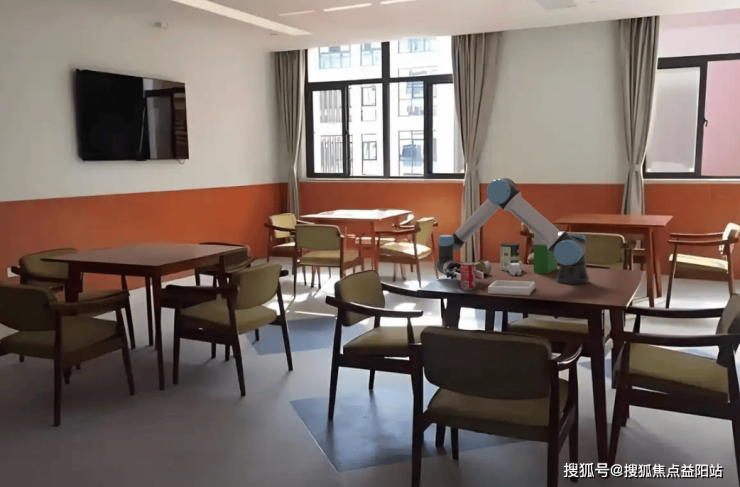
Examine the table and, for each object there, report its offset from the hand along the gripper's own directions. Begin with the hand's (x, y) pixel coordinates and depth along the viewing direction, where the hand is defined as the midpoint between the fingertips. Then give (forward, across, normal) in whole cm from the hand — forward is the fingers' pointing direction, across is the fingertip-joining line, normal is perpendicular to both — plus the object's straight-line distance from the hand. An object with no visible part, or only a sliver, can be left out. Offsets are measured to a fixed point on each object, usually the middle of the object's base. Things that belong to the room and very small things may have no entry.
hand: (471, 276), depth 300 cm
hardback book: (-38, -59, -7) cm, 71 cm away
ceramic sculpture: (-36, -20, -7) cm, 42 cm away
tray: (+7, -17, -6) cm, 19 cm away
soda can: (-4, 0, -7) cm, 8 cm away
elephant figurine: (-33, -38, -7) cm, 51 cm away
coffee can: (-49, -44, -7) cm, 66 cm away
